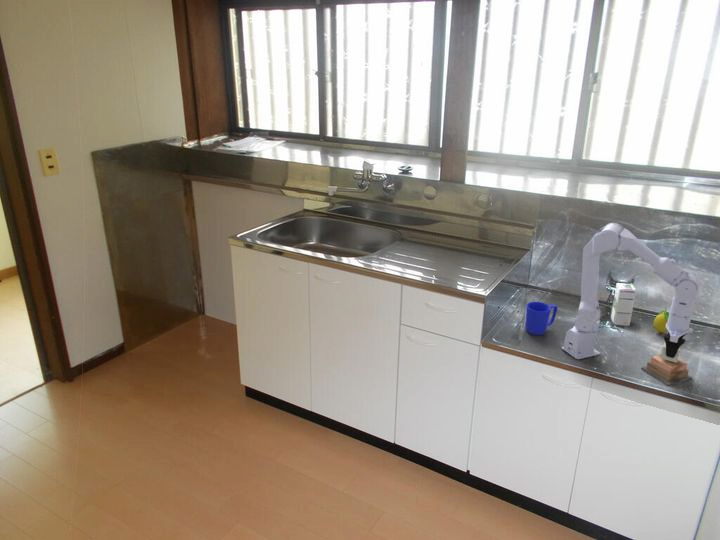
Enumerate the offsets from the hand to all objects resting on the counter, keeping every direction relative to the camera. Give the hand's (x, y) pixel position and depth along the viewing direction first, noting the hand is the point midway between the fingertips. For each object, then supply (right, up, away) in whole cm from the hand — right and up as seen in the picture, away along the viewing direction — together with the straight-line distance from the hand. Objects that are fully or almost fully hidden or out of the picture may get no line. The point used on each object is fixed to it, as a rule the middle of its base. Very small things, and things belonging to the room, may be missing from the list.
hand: (671, 353), depth 169 cm
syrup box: (+1, +6, +36) cm, 36 cm away
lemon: (+12, +3, +27) cm, 30 cm away
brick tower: (0, -7, +3) cm, 7 cm away
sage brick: (0, -1, +1) cm, 2 cm away
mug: (-31, +3, +29) cm, 42 cm away
